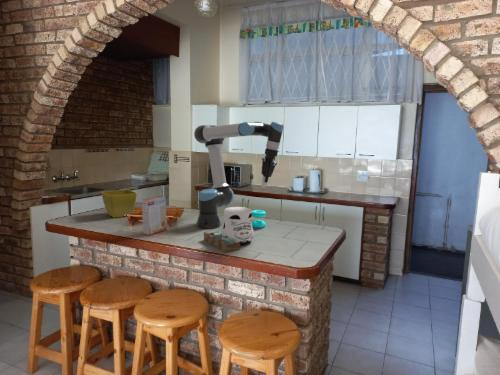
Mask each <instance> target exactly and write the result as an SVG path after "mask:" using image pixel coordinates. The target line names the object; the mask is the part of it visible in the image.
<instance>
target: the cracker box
mask: <svg viewBox="0 0 500 375" xmlns="http://www.w3.org/2000/svg"><path fill="white" fill-rule="evenodd" d="M166 206H167V204H166V196H161V195H159V196H154V197H148V198H145V199H141V213H142V231H143V235H147V236H152V235H156V234H158V233H161V232H165V231H167V225H168V224H167V207H166Z"/></svg>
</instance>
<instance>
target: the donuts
mask: <svg viewBox="0 0 500 375" xmlns="http://www.w3.org/2000/svg"><path fill="white" fill-rule="evenodd" d="M266 215H267V213H266V211H265V210H261V209H255V210H252V218H256V219H254V220H252V228H253V229H262V228H265V227H266V225H267V222H265V221H264V220H261V219H262V218H265V217H266ZM257 218H261V219H257Z"/></svg>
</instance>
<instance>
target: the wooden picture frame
mask: <svg viewBox="0 0 500 375" xmlns="http://www.w3.org/2000/svg"><path fill="white" fill-rule="evenodd" d="M218 232H219V231H215V232H208V231H204V232H203V241H205V242H206V243H208V244H210V245H212V246H213V247H215V249H218V250H220V251H222V253H229V252H234V251H238V250H241V244H240V243H239V242H238V243H233V244H227V245H226V243H225V242H223V241H221V240H219V239H218V238H216V237H214V233H218Z"/></svg>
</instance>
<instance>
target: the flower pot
mask: <svg viewBox="0 0 500 375" xmlns="http://www.w3.org/2000/svg"><path fill="white" fill-rule="evenodd" d="M137 195H138V193H137V192H135V191H133V190H130V189H119V190H118V189H117V190H107V191H101V197H102V201H103V205H104V207H105V210H106V213H107V215H108V216H110V217H111V216H112V218H113V219H115V218H116V217H117V218H124V217H123V216H124V215H125V214H128V213H130V212H132V211H133V212H134V210H135V207H136V203H137V198H138V197H137ZM117 218H116V219H117Z"/></svg>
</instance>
